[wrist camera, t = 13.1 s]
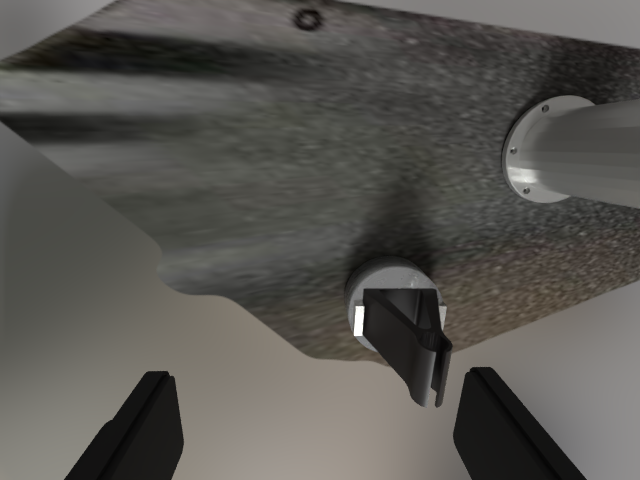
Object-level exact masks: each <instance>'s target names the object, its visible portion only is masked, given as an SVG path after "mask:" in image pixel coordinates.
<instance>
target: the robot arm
mask: <svg viewBox="0 0 640 480" xmlns="http://www.w3.org/2000/svg"><path fill="white" fill-rule="evenodd" d="M510 150H511V151H510ZM502 169H503V174H504V177H505V180H506V182H507V184H508V185H509V187H510V188H511V189H512V190H513V191H514V192H515V193H516V194H517V195H519V196H520V197H522V198H524V199H527V200H530V201H534V202H539V203H551V202H557V201H560V200H563V199H566V198H568V197H570V196H575V197H580V198H586V199H591V200H597V201H602V202H607V203H613V204H618V205H623V206H629V207H634V208H640V99H636V100H629V101H622V102H615V103H608V104H601V105H595V104H594V103H592V102H591V101H590V100H588V99H585V98H583V97H580V96H573V95H567V96H558V97H553V98H549V99H547V100H544V101H542V102H539V103H538V104H536V105H534V106H533V107H531V108H530V109H529V110H527V111H526V112H525V113H524V114H523V115H522V116H521V117H520V118H519V119H518V120H517V122H516V123H515V124H514V126H513V127H512V129H511V131H510V132H509V134H508V136H507V139H506V141H505V144H504V148H503V152H502ZM453 439H454V443H455V446H456V448H457V451H458V453H459V455H460V457H461V459H462V461H463V463H464V465H465V467H466V469H467V471H468V473H469V475H470V477H471V479H472V480H587V479H586V478H585V477H584V476H583V475H582V473H581V472H580V471H579V470H578V469H577V467H576V466H575V465H574V464H573V463H572V462H571V461H570V459H569V458H568V457H567V456H566V454H565V453H564V452H563V451H562V450H561V449H560V447H559V446H558V445H557V444H556V443H555V441H554V440H553V439H552V438H551V437H550V435H549V434H548V433H547V432H546V431H545V430H544V428H543V427H542V426H541V425H540V424H539V422H538V421H537V420H536V419H535V418H534V417H533V415H532V414H531V413H530V412H529V411H528V410H527V408H526V407H525V406H524V405H523V403H522V402H521V401H520V400H519V399H518V398H517V396H516V395H515V394H514V393H513V392H512V390H511V389H510V388H509V387H508V386H507V385H506V383H505V382H504V381H503V380H502V379H501V377H500V376H499V375H498V374H497V373H496V372H495V370H493V369H492V368H491V367H472V368H471V369H470V372H467V373H466V374H465V379H464V384H463V388H462V393H461V398H460V403H459V408H458V413H457V418H456V423H455V427H454V432H453ZM183 445H184V439H183V432H182V425H181V419H180V412H179V404H178V398H177V391H176V384H175V378H174V376H170V375H169V373H168V371H148V372H146V373H145V374H144V376H143V377H142V378H141V380H140V381H139V383H138V384H137V386H136V387H135V389H134V390H133V391H132V393H131V394H130V395H129V397H128V398H127V400H126V401H125V402H124V404H123V405H122V407H121V408H120V410H119V411H118V412H117V414H116V415H115V417H114V418H113V420H110V421H108V422H107V423H106V424H105V425H104V426H103V427H102V428H101V429H100V431H99V432H98V434H97V435H96V436H95V438H94V439H93V440H92V442H91V443H90V445H89V446H88V447H87V449H86V450H85V451H84V453H83V454H82V456H81V457H80V458H79V460H78V461H77V463H76V464H75V465H74V467H73V468H72V469H71V471H70V472H69V474H68V475H67V476H66V478H65V479H64V480H171V479H172V476H173V474H174V471H175V469H176V467H177V464H178V462H179V459H180V457H181V454H182V451H183Z"/></svg>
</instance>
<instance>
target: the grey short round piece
mask: <svg viewBox="0 0 640 480" xmlns="http://www.w3.org/2000/svg"><path fill="white" fill-rule="evenodd" d="M365 288H398V289H401V288H433V289H436V290H437V297H438V305H439V312H440V319H441V327H442V331H443V327H444V321H445V315H446V309H447V306H446V305H445V303H444V302H443V301H442V297H441V294H440V292H439V290H438V288H437V287H436V286H435V284H434V283H433V282H432V281H431V280H430V279H429V278H428V277H427V276H426V275H425V273H424V272H423V271H422V270H421V269H420V268H419V267H418V266H417V265H416V264H414V263H413V262H412V261H410V260H408V259H405V258H402V257H398V256H381V257H377V258H373V259H371V260H369V261H367V262H365V263H364V264H362V265H361V266H360V267H358V268H357V269H356V270H355V271H354V272H353V274H352V275H351V276H350V278H349V280H348V282H347V284H346V287H345V292H344V302H345V307H346V311H347V315H348V319H349V323H350V327H351V330H352V332H353V334H354V336H355V337H356V338H357V340H358V341H359V342H360V343H361V344H363V345H364V346H365V347H367V348H369V349H371V350H373V351H376V352H378V351H377V350H376V349H375V348H374V347H373V346H372V345H371V344H370V343H369V341H368V340H367V339H366V338H365V337H364V336H363V335H362V331H363V318H364V304H363V290H364V289H365Z"/></svg>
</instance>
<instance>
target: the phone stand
mask: <svg viewBox="0 0 640 480" xmlns="http://www.w3.org/2000/svg"><path fill="white" fill-rule="evenodd" d="M363 304H364V318H363V331H362V335H363V336H364V337H365V338H366V339H367V340H368V341H369V343H370V344H371V345H372V346H373V347H374V348H375V349H376V350H377V351H378V352H379V354H380V355H381V356H382V357H383V358H384V359H385V360H386V361H387V362H388V364H389V365H390V366H391V367H392V368H393V369H394V370H395V371H396V372H397V373H398V375H399V376H400V377H401V378H402V379H403V380H404V381H405V383H406V384H407V386H408V389H409V392H410V396H411V398H412V399H413V400H414V401H415V402H416V403H417V404H419V405H420V406H423V407H426V408H427V405H428V398H429V392H430V387H431V388H432V389H433V390H435V391H436V392H437V395H436V401H435V406H436V407H439V406H441V404H442V402H443V397H444V391H445V385H446V380H447V374H448V369H449V364H450V358H451V353H452V347H453V346H452V343H451V341H450V340H449V339H448V338H447V337H446V336H445V335H444V333H443V331H442V327H441V319H440V312H439V305H438V297H437V290H436V289H433V288H401V289H398V288H365V289H364V290H363Z"/></svg>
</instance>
